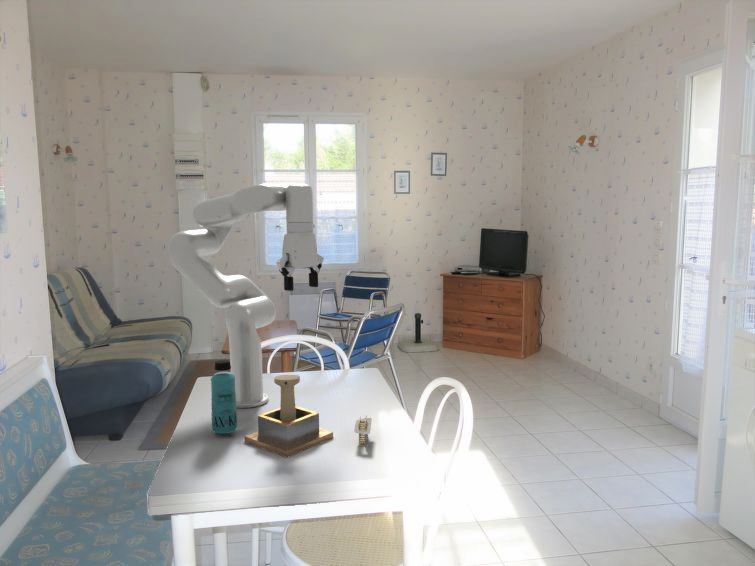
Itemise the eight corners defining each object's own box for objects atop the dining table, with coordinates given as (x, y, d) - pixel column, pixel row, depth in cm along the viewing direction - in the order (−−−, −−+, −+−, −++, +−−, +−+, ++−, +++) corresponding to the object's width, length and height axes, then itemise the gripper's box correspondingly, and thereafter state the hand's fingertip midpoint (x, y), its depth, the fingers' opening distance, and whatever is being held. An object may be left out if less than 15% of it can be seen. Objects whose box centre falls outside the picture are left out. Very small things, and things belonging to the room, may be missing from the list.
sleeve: (244, 441, 155) (243, 416, 154) (290, 424, 167) (290, 400, 166) (286, 457, 145) (286, 430, 144) (333, 437, 157) (332, 412, 156)
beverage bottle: (208, 434, 160) (204, 360, 158) (231, 428, 164) (228, 356, 162) (219, 441, 155) (215, 365, 153) (242, 434, 159) (239, 360, 157)
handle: (300, 437, 153) (298, 379, 151) (274, 437, 153) (272, 380, 151) (302, 430, 158) (300, 374, 156) (277, 430, 158) (275, 374, 156)
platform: (336, 458, 145) (335, 431, 144) (343, 430, 163) (342, 407, 162) (385, 458, 145) (385, 432, 144) (387, 430, 162) (387, 407, 162)
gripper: (312, 227, 180) (313, 284, 182) (267, 229, 167) (269, 290, 169) (330, 227, 175) (331, 286, 177) (286, 230, 162) (287, 293, 164)
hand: (301, 288), depth 173 cm, fingers open, 9 cm apart
